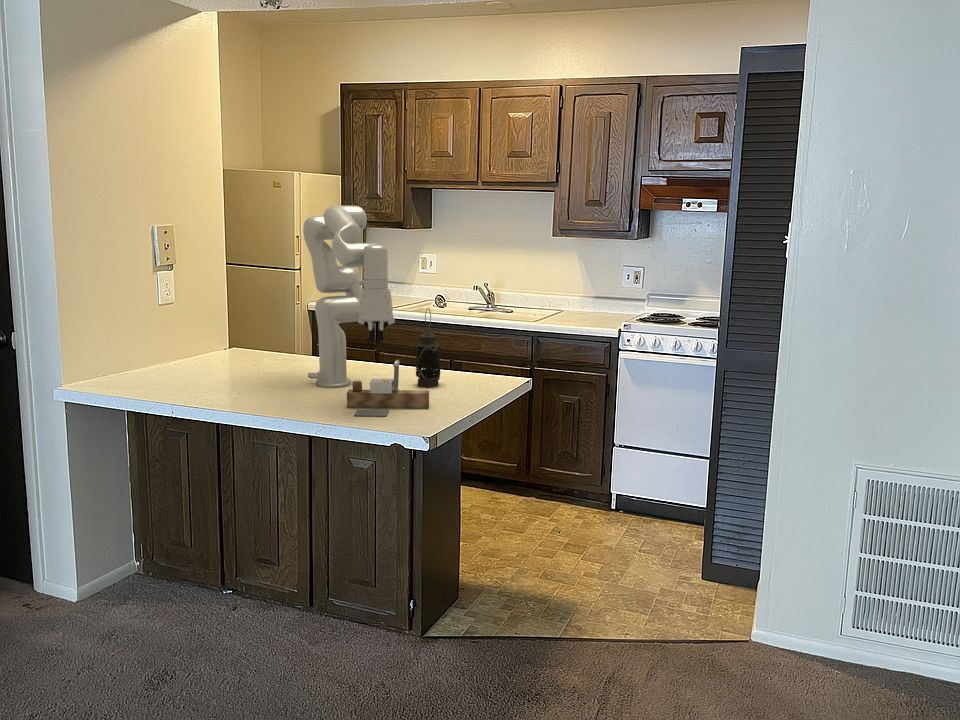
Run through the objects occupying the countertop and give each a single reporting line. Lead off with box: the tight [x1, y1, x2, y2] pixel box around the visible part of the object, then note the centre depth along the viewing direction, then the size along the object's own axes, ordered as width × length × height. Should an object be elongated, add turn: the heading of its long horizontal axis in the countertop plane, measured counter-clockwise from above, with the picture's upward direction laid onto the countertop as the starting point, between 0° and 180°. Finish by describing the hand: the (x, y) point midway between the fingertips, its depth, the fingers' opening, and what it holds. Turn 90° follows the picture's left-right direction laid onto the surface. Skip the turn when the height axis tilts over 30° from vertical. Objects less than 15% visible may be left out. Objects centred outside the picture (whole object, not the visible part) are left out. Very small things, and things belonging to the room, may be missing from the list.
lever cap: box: [369, 378, 394, 393], centre depth 274 cm, size 7×5×4 cm
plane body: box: [346, 380, 430, 410], centre depth 274 cm, size 26×4×8 cm, turn 89°
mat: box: [353, 409, 390, 418], centre depth 266 cm, size 10×7×1 cm
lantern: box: [414, 307, 441, 389], centre depth 303 cm, size 10×9×28 cm
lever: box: [392, 359, 401, 392], centre depth 273 cm, size 2×5×10 cm, turn 178°
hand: (376, 342), depth 271 cm, fingers closed
